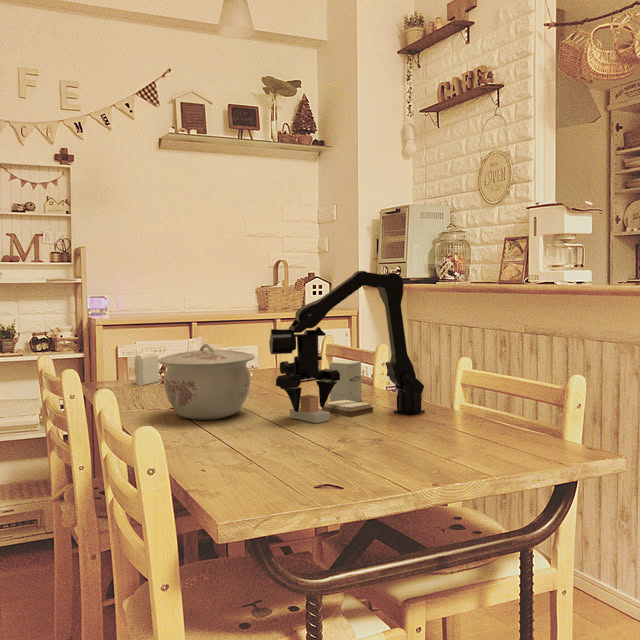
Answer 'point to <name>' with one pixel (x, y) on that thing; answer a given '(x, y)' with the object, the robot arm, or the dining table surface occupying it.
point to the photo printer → (146, 368)
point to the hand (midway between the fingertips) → (309, 409)
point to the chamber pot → (207, 382)
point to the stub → (310, 410)
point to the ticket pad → (347, 408)
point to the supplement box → (347, 381)
